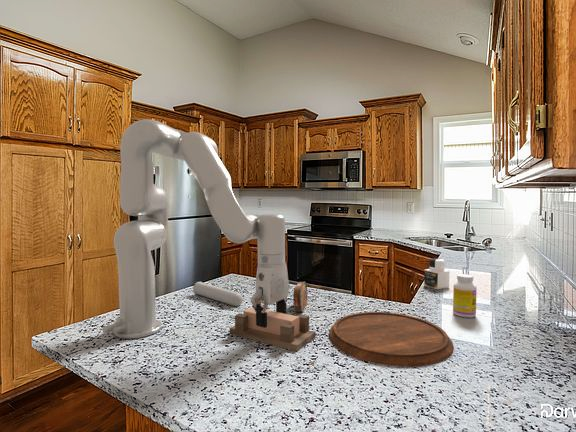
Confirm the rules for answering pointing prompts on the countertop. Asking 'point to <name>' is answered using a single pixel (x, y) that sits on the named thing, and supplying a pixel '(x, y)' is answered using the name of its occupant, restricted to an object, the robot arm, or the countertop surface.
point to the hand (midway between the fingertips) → (271, 320)
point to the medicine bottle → (436, 274)
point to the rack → (282, 340)
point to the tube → (218, 294)
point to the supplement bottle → (464, 296)
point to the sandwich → (300, 296)
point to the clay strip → (272, 321)
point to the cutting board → (391, 339)
